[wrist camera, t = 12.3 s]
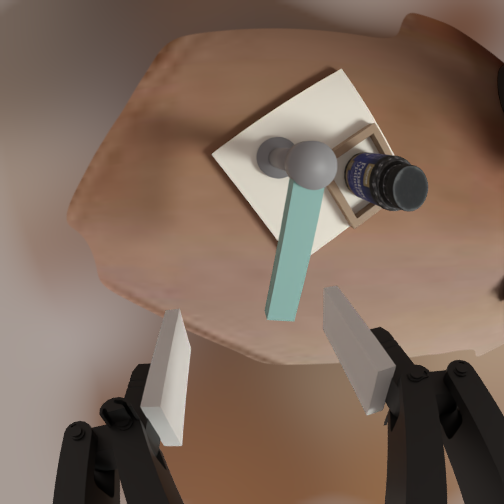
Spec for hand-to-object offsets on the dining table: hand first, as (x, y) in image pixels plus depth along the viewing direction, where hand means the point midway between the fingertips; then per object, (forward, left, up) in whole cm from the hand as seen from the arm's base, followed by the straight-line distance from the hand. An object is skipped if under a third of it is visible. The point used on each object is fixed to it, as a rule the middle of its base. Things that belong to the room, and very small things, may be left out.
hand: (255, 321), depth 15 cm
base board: (-13, +1, -23) cm, 26 cm away
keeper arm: (-5, +1, -9) cm, 10 cm away
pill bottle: (-17, +5, -22) cm, 28 cm away
